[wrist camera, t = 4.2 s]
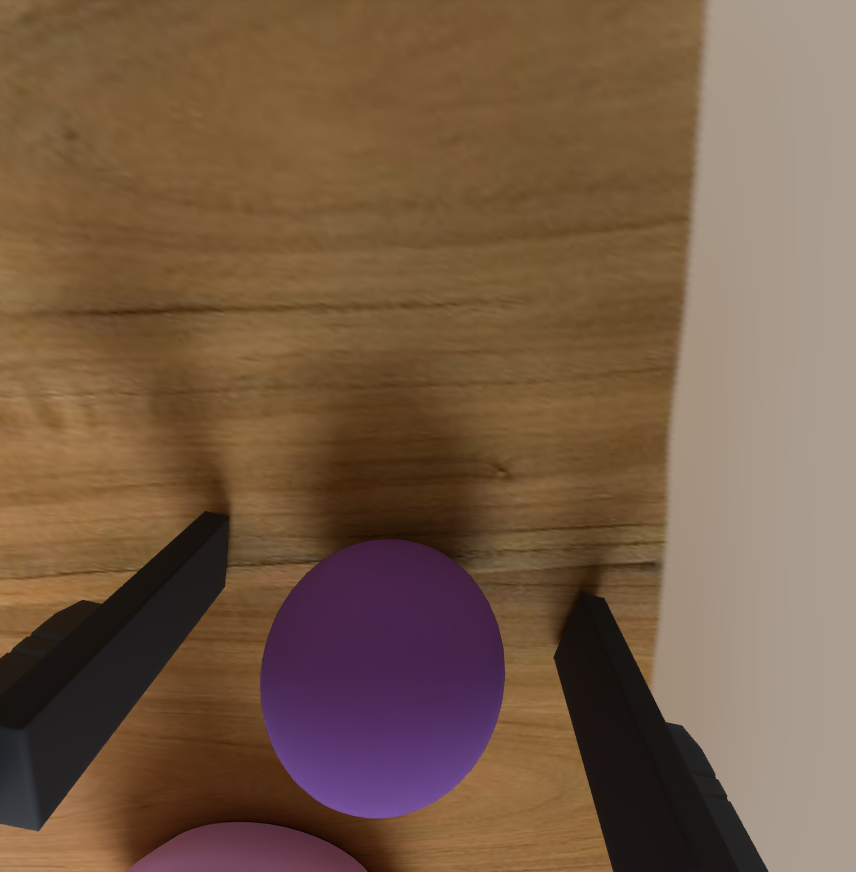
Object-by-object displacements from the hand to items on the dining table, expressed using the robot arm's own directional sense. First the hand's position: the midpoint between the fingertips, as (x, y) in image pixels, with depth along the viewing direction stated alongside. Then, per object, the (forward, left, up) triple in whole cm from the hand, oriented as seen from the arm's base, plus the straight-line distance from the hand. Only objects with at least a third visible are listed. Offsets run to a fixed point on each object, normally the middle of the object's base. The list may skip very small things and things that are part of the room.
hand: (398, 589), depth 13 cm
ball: (0, 0, 0) cm, 0 cm away
